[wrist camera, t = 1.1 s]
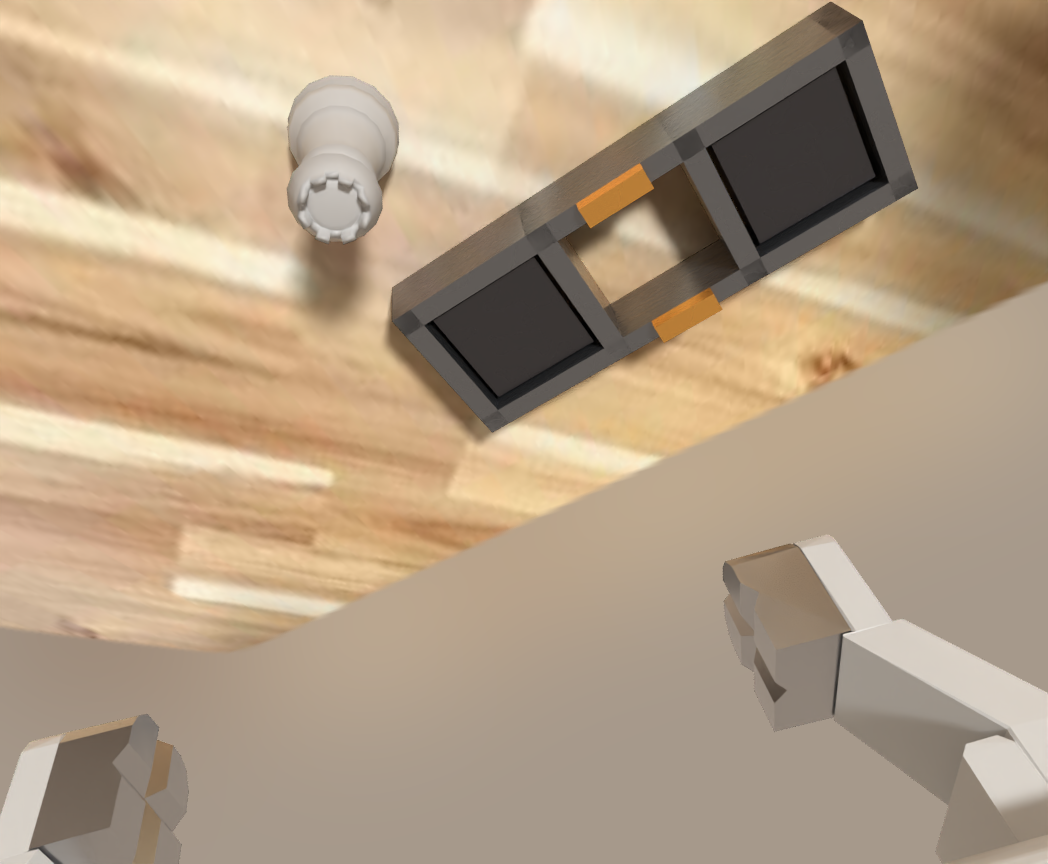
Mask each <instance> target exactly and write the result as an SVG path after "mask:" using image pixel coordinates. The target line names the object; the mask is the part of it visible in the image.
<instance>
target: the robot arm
mask: <svg viewBox="0 0 1048 864" xmlns="http://www.w3.org/2000/svg"><path fill="white" fill-rule="evenodd" d="M723 581H724V583H725V585H726V587H727V589H728V591H729V594H728V596H727V597H726V598H725V600H724V612H725V619H726V624H727V628H728V632H729V636H730V638H731V641H732V644H733V646H734V649H735V651H736V654H737V656H738V658H739V660H740V662H741V664H742V665H744V666H745V667H747V668H748V669H750V670H752V671H753V672H754V691H755V693H756V695H757V698H758V699H759V702H760V704H761V706H762V708H763V710H764V712H765V714H766V716H767V718H768V720H769V722H770V724H771V726H772V728H773V730H774V732H775V731H779V730H783V729H787V728H791V727H796V726H800V725H804V724H808V723H811V722H816V721H820V720H824V719H829V718H833V717H834V721H835V722H837V723H838V724H840V725H841V726H842V727H844V728H845V729H846V730H848V731H849V732H850V733H852V734H853V735H854V736H856V737H857V738H858V739H860V740H861V741H862V742H864V743H865V744H867V745H868V746H869V747H871V748H872V749H873V750H874V751H876V752H877V753H878V754H880V755H881V756H883V757H884V758H885V759H887V760H888V761H889V762H891V763H892V764H893V765H895V766H896V767H897V768H899V769H900V770H901V771H903V772H904V773H905V774H907V775H908V776H909V777H911V778H912V779H913V780H915V781H916V782H917V783H919V784H920V785H922V786H923V787H924V788H926V789H927V790H928V791H930V792H931V793H932V794H934V795H935V796H936V797H938V798H939V799H940V800H942V801H943V802H944V803H946V804H947V805H948V809H947V813H946V816H945V819H944V823H943V826H942V830H941V833H940V837H939V840H938V844H937V847H936V851H935V852H936V854H937V855H938V857H939V859H940V861H941V863H942V864H1048V693H1047V692H1045V691H1043V690H1041V689H1039V688H1037V687H1035V686H1033V685H1031V684H1029V683H1027V682H1025V681H1023V680H1021V679H1019V678H1017V677H1015V676H1013V675H1011V674H1010V673H1007V672H1006V671H1004V670H1002V669H1000V668H998V667H996V666H994V665H992V664H990V663H988V662H986V661H984V660H982V659H980V658H978V657H976V656H974V655H973V654H971V653H969V652H967V651H965V650H963V649H961V648H959V647H957V646H955V645H953V644H951V643H949V642H947V641H945V640H943V639H941V638H939V637H938V636H935V635H933V634H932V633H930V632H927V631H926V630H924V629H922V628H920V627H918V626H916V625H914V624H912V623H910V622H908V621H906V620H904V619H899V620H895V621H892V620H891V618H890V617H889V615H888V614H887V613H886V611H885V610H884V608H883V607H882V605H881V604H880V603H879V601H878V600H877V599H876V597H875V595H874V594H873V593H872V591H871V590H870V588H869V587H868V586H867V584H866V583H865V581H864V580H863V578H862V577H861V575H860V574H859V573H858V571H857V570H856V568H855V567H854V566H853V564H852V563H851V561H850V560H849V558H848V557H847V556H846V554H845V553H844V551H843V550H842V548H841V547H840V545H839V544H838V543H837V541H836V540H835V538H833V537H831V536H829V535H828V534H827V535H823V536H820V537H816V538H812V539H808V540H804V541H800V542H796V543H793V544H787V545H783V546H779V547H775V548H772V549H769V550H765V551H761V552H757V553H754V554H750V555H746V556H743V557H739V558H736V559H732V560H728V561H725V563H724V566H723ZM158 731H159V727H158V726H157V724H156V723H155V722H154V721H153V720H152V719H151V717H150V716H149V715H148V714H145V715H139V716H135V717H131V718H126V719H122V720H118V721H114V722H110V723H105V724H101V725H97V726H92V727H88V728H84V729H79V730H75V731H71V732H67V733H63V734H59V735H55V736H51V737H47V738H44V739H39V740H35V741H31V742H30V743H29V744H28V745H27V746H26V748H25V749H24V750H23V751H22V753H21V755H20V757H19V760H18V763H17V766H16V769H15V772H14V775H13V779H12V781H11V784H10V788H9V791H8V794H7V797H6V800H5V803H4V806H3V809H2V812H1V815H0V864H179V859H180V852H181V845H182V844H181V843H180V841H179V840H178V839H177V837H176V836H175V834H174V833H173V830H174V829H175V827H176V826H177V825H178V823H179V822H180V820H181V819H182V818H183V816H184V815H185V813H186V809H187V802H188V793H189V790H188V781H187V771H186V768H185V765H184V763H183V760H182V758H181V755H180V754H179V753H178V751H177V750H176V749H175V747H174V746H173V745H170V744H167V743H165V742H161V741H159V740H157V737H158Z"/></svg>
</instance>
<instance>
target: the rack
mask: <svg viewBox="0 0 1048 864" xmlns="http://www.w3.org/2000/svg"><path fill="white" fill-rule="evenodd" d="M706 147H707V149H708V151H709V153H710V155H711V157H712V159H713V161H714V163H715V165H716V167H717V169H718V171H719V173H720V175H721V177H722V179H723V181H724V183H725V185H726V187H727V189H728V191H729V193H730V195H731V197H732V199H733V201H734V203H735V205H736V207H737V209H738V211H739V213H740V215H741V217H742V219H743V221H744V222H745V223H746V224H745V225H744V224H743V222H742V220H741V218H740V216H739V214H738V212H737V210H736V208H735V206H734V204H733V202H732V200H731V198H730V196H729V194H728V192H727V190H726V188H725V186H724V184H723V182H722V180H721V178H720V176H719V174H718V172H717V170H716V168H715V166H714V164H713V162H712V160H711V158H710V156H709V154H708V152H707V150H706ZM679 164H681V166H682V168H683V170H684V172H685V174H686V176H687V178H688V179H689V181H690V183H691V185H692V187H693V189H694V191H695V193H696V195H697V196H698V198H699V200H700V202H701V204H702V206H703V208H704V210H705V212H706V213H707V215H708V217H709V219H710V221H711V223H712V225H713V227H714V229H715V230H716V232H717V234H718V236H719V238H720V240H718V241H716V242H715V243H713V244H711V245H710V246H708V247H706V248H704V249H703V250H701V251H699V252H698V253H696V254H694V255H693V256H691V257H689V258H688V259H686V260H684V261H683V262H681V263H679V264H678V265H676V266H674V267H673V268H671V269H669V270H668V271H666V272H664V273H663V274H661V275H659V276H657V277H656V278H654V279H652V280H651V281H649V282H647V283H646V284H644V285H642V286H641V287H639V288H637V289H636V290H634V291H632V292H631V293H629V294H627V295H626V296H624V297H622V298H621V299H619V300H617V301H615V302H614V303H612V304H610V303H609V302H608V300H607V299H606V297H605V296H604V294H603V293H602V291H601V290H600V288H599V287H598V285H597V284H596V282H595V281H594V279H593V278H592V276H591V275H590V273H589V272H588V270H587V269H586V267H585V266H584V264H583V263H582V261H581V260H580V258H579V257H578V255H577V254H576V252H575V251H574V249H573V248H572V246H571V245H570V243H569V242H568V240H567V239H566V237H565V236H567V235H568V234H570V233H571V232H573V231H575V230H576V229H578V228H579V227H581V226H583V225H584V224H586V223H587V224H588V226H589V227H590V228H592V227H594V226H595V225H597V224H598V223H600V222H602V221H603V220H605V219H606V218H608V217H610V216H611V215H613V214H614V213H616V212H617V211H619V210H621V209H622V208H624V207H625V206H627V205H629V204H630V203H632V202H633V201H635V200H637V199H638V198H640V197H641V196H643V195H645V194H646V193H648V192H649V191H651V190H653V189H654V187H653V185H652V184H651V182H652V181H654V180H656V179H657V178H659V177H660V176H662V175H663V174H665V173H667V172H668V171H670V170H671V169H673V168H675V167H676V166H678V165H679ZM916 189H918V187H917V184H916V181H915V178H914V175H913V172H912V169H911V166H910V163H909V160H908V156H907V153H906V150H905V147H904V144H903V141H902V138H901V135H900V132H899V129H898V126H897V123H896V120H895V117H894V114H893V111H892V108H891V105H890V102H889V99H888V96H887V93H886V90H885V87H884V84H883V81H882V78H881V75H880V72H879V69H878V66H877V63H876V60H875V57H874V54H873V51H872V48H871V45H870V42H869V39H868V36H867V33H866V30H865V27H864V24H863V21H862V20H861V19H859V18H857V17H856V16H854V15H852V14H851V13H849V12H847V11H846V10H844V9H842V8H841V7H839V6H837V5H836V4H834V3H832V2H829V3H828V4H826V5H825V6H823V7H822V8H820V9H818V10H817V11H815V12H814V13H812V14H811V15H809V16H808V17H806V18H805V19H803V20H802V21H800V22H799V23H797V24H795V25H794V26H792V27H791V28H789V29H788V30H786V31H785V32H783V33H782V34H780V35H779V36H777V37H776V38H774V39H772V40H771V41H769V42H768V43H766V44H765V45H763V46H762V47H760V48H759V49H757V50H756V51H754V52H753V53H751V54H749V55H748V56H746V57H745V58H743V59H742V60H740V61H739V62H737V63H736V64H734V65H733V66H731V67H730V68H728V69H727V70H725V71H723V72H722V73H720V74H719V75H717V76H716V77H714V78H713V79H711V80H710V81H708V82H707V83H705V84H704V85H702V86H700V87H699V88H697V89H696V90H694V91H693V92H691V93H690V94H688V95H687V96H685V97H684V98H682V99H681V100H679V101H677V102H676V103H674V104H673V105H671V106H670V107H668V108H667V109H665V110H664V111H662V112H661V113H659V114H658V115H656V116H655V117H653V118H651V119H650V120H648V121H647V122H645V123H644V124H642V125H641V126H639V127H638V128H636V129H635V130H633V131H632V132H630V133H628V134H627V135H625V136H624V137H622V138H621V139H619V140H618V141H616V142H615V143H613V144H612V145H610V146H609V147H607V148H605V149H604V150H602V151H601V152H599V153H598V154H596V155H595V156H593V157H592V158H590V159H589V160H587V161H586V162H584V163H582V164H581V165H579V166H578V167H576V168H575V169H573V170H572V171H570V172H569V173H567V174H566V175H564V176H563V177H561V178H560V179H558V180H556V181H555V182H553V183H552V184H550V185H549V186H547V187H546V188H544V189H543V190H541V191H540V192H538V193H537V194H535V195H533V196H532V197H530V198H529V199H527V200H526V201H524V202H523V203H521V204H520V205H518V206H517V207H515V208H514V209H512V210H510V211H509V212H507V213H506V214H504V215H503V216H501V217H500V218H498V219H497V220H495V221H494V222H492V223H491V224H489V225H487V226H486V227H484V228H483V229H481V230H480V231H478V232H477V233H475V234H474V235H472V236H471V237H469V238H468V239H466V240H465V241H463V242H461V243H460V244H458V245H457V246H455V247H454V248H452V249H451V250H449V251H448V252H446V253H445V254H443V255H442V256H440V257H438V258H437V259H435V260H434V261H432V262H431V263H429V264H428V265H426V266H425V267H423V268H422V269H420V270H419V271H417V272H415V273H414V274H412V275H411V276H409V277H408V278H406V279H405V280H403V281H402V282H400V283H399V284H397V285H396V286H394V287H393V288H392V322H393V323H394V324H395V325H396V326H397V327H398V328H399V330H400V331H401V332H402V333H403V334H404V335H405V336H406V337H407V338H408V340H409V341H410V342H411V343H412V344H413V345H414V346H415V347H416V348H417V350H418V351H419V352H420V353H421V354H422V355H423V356H424V357H425V358H426V360H427V361H428V362H429V363H430V364H431V365H432V366H433V367H434V368H435V370H436V371H437V372H438V373H439V374H440V375H441V376H442V377H443V378H444V380H445V381H446V382H447V383H448V384H449V385H450V386H451V387H452V388H453V390H454V391H455V392H456V393H457V394H458V395H459V396H460V397H461V398H462V400H463V401H464V402H465V403H466V404H467V405H468V406H469V407H470V408H471V410H472V411H473V412H474V413H475V414H476V415H477V416H478V417H479V418H480V420H481V421H482V422H483V423H484V424H485V425H486V426H487V427H488V428H489V430H490V431H491V432H494V431H496V430H498V429H499V428H501V427H503V426H505V425H506V424H508V423H510V422H512V421H513V420H515V419H517V418H519V417H520V416H522V415H524V414H526V413H527V412H529V411H531V410H533V409H534V408H536V407H538V406H540V405H541V404H543V403H545V402H546V401H548V400H550V399H552V398H553V397H555V396H557V395H559V394H560V393H562V392H564V391H566V390H567V389H569V388H571V387H573V386H574V385H576V384H578V383H580V382H581V381H583V380H585V379H587V378H588V377H590V376H592V375H594V374H595V373H597V372H599V371H601V370H602V369H604V368H606V367H607V366H609V365H611V364H613V363H614V362H616V361H618V360H620V359H621V358H623V357H625V356H627V355H628V354H630V353H632V352H634V351H635V350H637V349H639V348H641V347H642V346H644V345H646V344H648V343H649V342H651V341H653V340H655V339H656V338H658V337H660V338H661V339H662V341H663V342H664V343H665V342H666V341H668V340H670V339H672V338H673V337H675V336H677V335H679V334H680V333H682V332H684V331H686V330H687V329H689V328H691V327H693V326H694V325H696V324H698V323H700V322H701V321H703V320H705V319H707V318H708V317H710V316H712V315H714V314H716V313H717V312H719V311H721V310H722V308H721V306H720V304H719V302H721V301H723V300H724V299H726V298H728V297H729V296H731V295H733V294H735V293H736V292H738V291H740V290H742V289H743V288H745V287H747V286H749V285H750V284H752V283H754V282H756V281H757V280H759V279H761V278H763V277H764V276H766V275H768V274H770V273H771V272H773V271H775V270H777V269H778V268H780V267H782V266H784V265H785V264H787V263H789V262H790V261H792V260H794V259H796V258H797V257H799V256H801V255H803V254H804V253H806V252H808V251H810V250H811V249H813V248H815V247H817V246H818V245H820V244H822V243H824V242H825V241H827V240H829V239H831V238H832V237H834V236H836V235H838V234H839V233H841V232H843V231H845V230H846V229H848V228H850V227H851V226H853V225H855V224H857V223H858V222H860V221H862V220H864V219H865V218H867V217H869V216H871V215H872V214H874V213H876V212H878V211H879V210H881V209H883V208H885V207H886V206H888V205H890V204H892V203H893V202H895V201H897V200H899V199H900V198H902V197H904V196H905V195H907V194H909V193H911V192H912V191H914V190H916Z"/></svg>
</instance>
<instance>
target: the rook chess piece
mask: <svg viewBox="0 0 1048 864" xmlns="http://www.w3.org/2000/svg"><path fill="white" fill-rule="evenodd" d="M287 128H288V138H289V148H290V150H291V152H292V154H293V156H294V158H295V160H296V162H297V164H298V167H297V168H296V170H295V171H294V172H293V173H292V175H291V178H290V181H289V184H288V187H287V196H288V206H289V208H290V210H291V212H292V214H293V216H294V217H295V219H296V221H297V223H298V224H299V225H301V226H302V227H303V229H305V230H307V231H308V232H309V233H310V234H311V235H313V236H315V239H316V240H319V241H321V242H324V243H327V244H329V241H333V242H343V244H346V243H349V242H352V241H354V240H356V238H359V237H362V236H364V235H365V234H366V233H367V232H368V231H369V230H370V229H372V228H373V227H374V226H375V225H376V223H377V221H378V218H379V216H380V214H381V211H382V209H383V208H382V190H381V188H380V186H379V184H378V181H379V180H380V179H381V178H382V177H383V176H384V175H385V174H386V173H387V172H388V171H389V170H390V168H391V165H392V163H393V161H394V158H395V156H396V153H397V148H398V145H399V127H398V121H397V119H396V116H395V114H394V112H393V109H392V107H391V105H390V103H389V102H388V100H387V99H386V98H385V97H384V96H383V95H382V94H381V93H380V92H379V91H378V90H377V89H376V88H375V87H374V86H372V85H370V84H368V83H365V82H363V81H361V80H359V79H357V78H355V77H352V76H327V77H325V78H322V79H319V80H317V81H314V82H312V83H309V84H308V85H307V86H306V87H305V88H304V89H303V91H302V92H301V93H300V94H299V95H298V96H297V97H296V98H295V99H294V102H293V105H292V108H291V111H290V114H289V117H288V127H287Z"/></svg>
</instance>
